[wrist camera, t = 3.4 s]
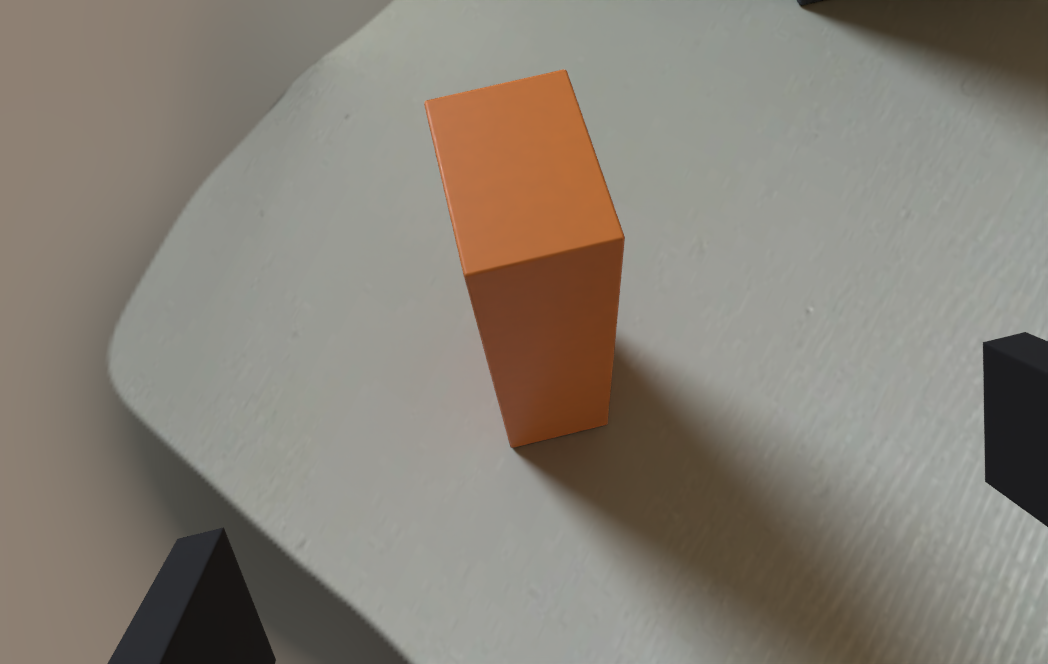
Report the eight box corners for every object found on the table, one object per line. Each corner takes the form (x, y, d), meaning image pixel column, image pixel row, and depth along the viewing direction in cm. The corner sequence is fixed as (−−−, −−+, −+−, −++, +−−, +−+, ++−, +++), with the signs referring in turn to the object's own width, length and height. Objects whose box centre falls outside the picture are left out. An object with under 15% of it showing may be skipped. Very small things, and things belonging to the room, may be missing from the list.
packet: (511, 448, 27) (464, 276, 16) (482, 324, 29) (423, 100, 18) (608, 424, 27) (626, 238, 16) (571, 302, 29) (566, 67, 18)
